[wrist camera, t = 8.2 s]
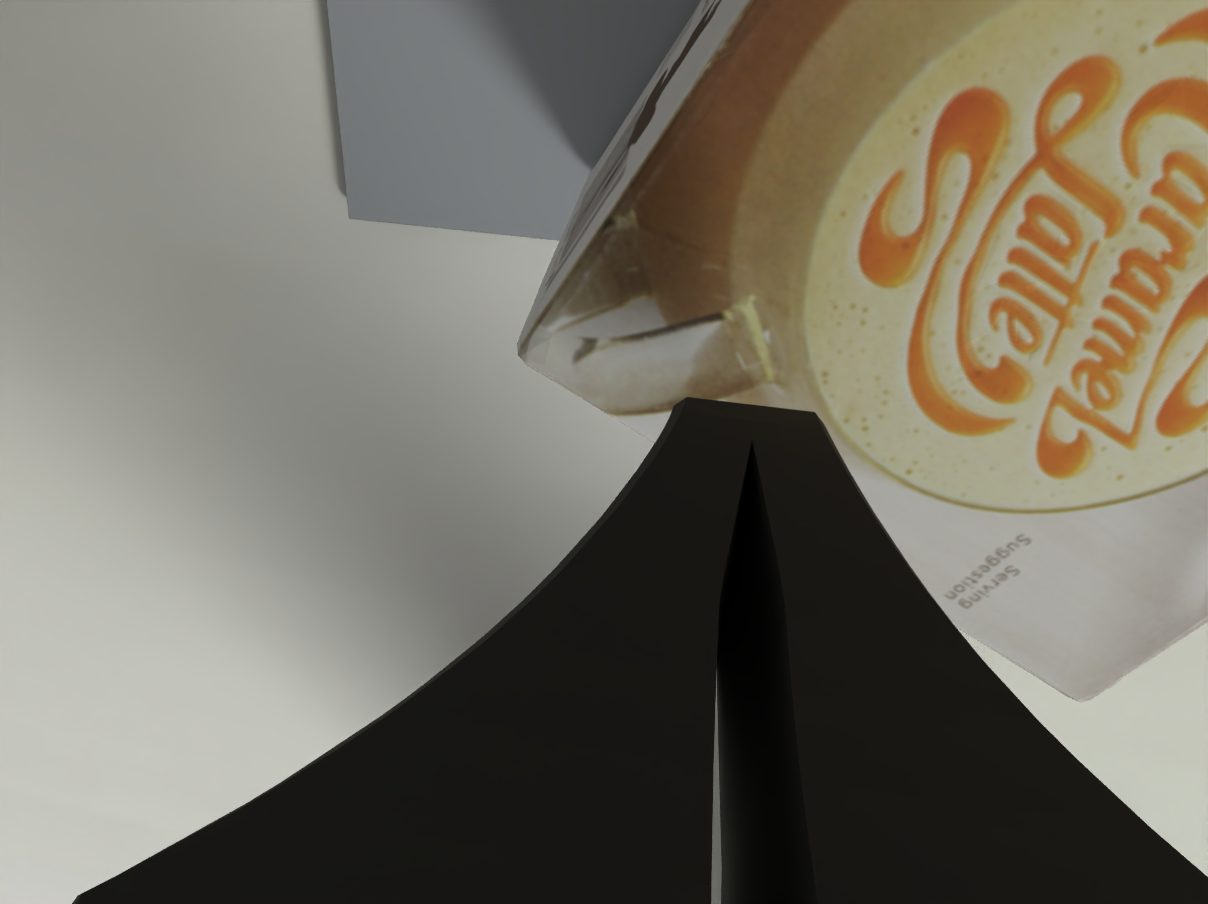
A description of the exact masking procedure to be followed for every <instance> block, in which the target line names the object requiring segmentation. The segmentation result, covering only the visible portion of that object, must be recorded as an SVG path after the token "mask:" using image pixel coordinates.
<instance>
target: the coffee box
mask: <svg viewBox="0 0 1208 904" xmlns="http://www.w3.org/2000/svg"><path fill="white" fill-rule="evenodd" d="M517 347H518V356H519V357H520V358H521V359H522V360H523V361H524V362H525V363H526V364H527V366H529V367H531V368H533V369H534V370H536V371H538V372H540V373H541V374H543V375H545V376H546V377H548V378H550V379H551V380H553V381H555V382H556V383H558V384H560V385H561V386H563V387H565V388H566V389H568V390H570V391H571V392H573V393H574V394H576V395H578V396H579V397H581V398H582V399H584V400H586V401H587V402H589V403H591V404H592V405H594V406H595V407H597V408H599V409H600V410H602V411H604V412H605V413H607V414H608V415H610V416H612V417H613V418H615V419H617V420H618V421H620V422H621V423H623V424H625V425H626V426H628V427H630V428H631V429H633V430H634V431H636V432H638V433H639V434H641V435H643V436H644V437H646V438H647V439H649V440H651V441H652V442H654V443H655V442H656V441H657V439H658V437H659V436H660V434H661V432H662V430H663V429H664V427H665V425H666V423H667V421H668V419H669V417H670V414H671V412H672V409H673V406H674V405H675V404H677V403H678V402H680V401H681V400H683V399H684V398H686V397H692V398H701V399H709V400H718V401H726V402H735V403H743V404H752V405H760V406H769V407H777V408H786V409H794V410H803V411H811V412H815V413H816V414H817V415H818V417H819V418H820V419H821V420H822V422H823V423H824V425H825V427H826V429H827V430H828V432H829V434H830V436H831V438H832V440H833V442H834V444H835V446H836V448H837V450H838V451H839V453H840V455H841V457H842V459H843V460H844V462H845V464H846V466H847V468H848V469H849V471H850V473H851V475H852V476H853V478H854V480H855V481H856V483H857V485H858V486H859V488H860V490H861V492H862V493H863V495H864V497H865V498H866V500H867V501H868V503H869V505H870V506H871V508H872V509H873V511H874V513H875V514H876V516H877V517H878V519H879V520H880V522H881V523H882V525H883V526H884V528H885V529H886V531H887V532H888V534H889V535H890V537H891V538H892V540H893V541H894V543H895V544H896V546H897V547H898V549H899V550H900V552H901V553H902V555H903V556H904V558H905V559H906V561H907V562H908V564H909V565H910V567H911V568H912V569H913V571H914V572H915V574H916V575H917V576H918V578H919V579H920V581H921V582H922V583H923V585H924V586H925V588H926V589H927V590H928V592H929V593H930V594H931V596H932V597H933V598H934V599H935V601H936V602H937V603H938V605H939V606H940V607H941V609H942V610H943V611H944V612H945V614H946V615H947V616H948V618H949V619H950V620H951V622H952V623H953V624H954V625H955V627H957V628H958V629H960V630H962V631H963V632H965V633H967V634H968V635H970V636H971V637H973V638H975V639H976V640H978V641H979V642H981V643H983V644H984V645H986V646H987V647H989V648H991V649H992V650H994V651H995V652H997V653H999V654H1000V655H1002V656H1003V657H1005V658H1007V659H1008V660H1010V661H1011V662H1013V663H1015V664H1016V665H1018V666H1019V667H1021V668H1023V669H1024V670H1026V671H1028V672H1029V673H1031V674H1033V675H1034V676H1036V677H1037V678H1039V679H1041V680H1042V681H1044V682H1045V683H1047V684H1048V685H1050V686H1052V687H1053V688H1055V689H1056V690H1058V691H1059V692H1061V693H1062V694H1064V695H1066V696H1067V697H1070V698H1072V699H1074V700H1076V701H1079V702H1084V701H1088V700H1091V699H1093V698H1094V697H1096V696H1097V695H1099V694H1100V693H1102V692H1103V691H1105V690H1106V689H1108V688H1110V687H1112V686H1113V685H1114V684H1115V683H1117V682H1118V681H1119V680H1121V679H1122V678H1123V677H1124V676H1126V675H1127V674H1129V673H1131V672H1132V671H1134V670H1135V669H1137V668H1138V667H1140V666H1141V665H1143V664H1145V663H1146V662H1148V661H1149V660H1151V659H1152V658H1154V657H1155V656H1157V655H1158V654H1160V653H1161V652H1163V651H1164V650H1166V649H1167V648H1169V647H1170V646H1172V645H1173V644H1175V643H1177V642H1178V641H1180V640H1181V639H1183V638H1184V637H1186V636H1187V635H1189V634H1190V633H1192V632H1193V631H1195V630H1196V629H1198V628H1199V627H1200V626H1202V625H1203V624H1205V623H1206V622H1208V0H701V1H700V3H699V5H698V6H697V8H696V10H695V11H694V13H693V14H692V16H691V17H690V19H689V21H688V22H687V24H686V25H685V27H684V28H683V30H682V32H681V33H680V35H679V36H678V38H677V39H676V41H675V42H674V44H673V46H672V47H671V49H670V50H669V52H668V53H667V55H666V57H665V58H664V60H663V61H662V63H661V64H660V66H659V67H658V69H657V71H656V72H655V74H654V75H653V77H652V78H651V80H650V81H649V83H648V85H647V86H646V88H645V89H644V91H643V92H642V94H641V96H640V97H639V99H638V100H637V102H636V103H635V105H634V106H633V108H632V110H631V111H630V113H629V114H628V116H627V117H626V119H625V121H624V122H623V124H622V125H621V127H620V128H619V130H618V131H617V133H616V135H615V136H614V138H613V139H612V141H611V142H610V144H609V145H608V147H607V149H606V150H605V152H604V153H603V155H602V156H601V158H600V159H599V161H598V162H597V164H596V165H595V167H594V168H593V169H592V171H591V172H590V174H589V176H588V178H587V180H586V182H585V184H584V186H583V189H582V191H581V193H580V196H579V198H578V200H577V203H576V205H575V208H574V210H573V212H572V214H571V217H570V219H569V221H568V224H567V226H566V228H565V231H564V233H563V235H562V237H561V240H560V242H559V244H558V246H557V248H556V251H555V253H554V255H553V258H552V260H551V262H550V265H549V267H548V269H547V272H546V274H545V276H544V279H543V281H542V283H541V286H540V288H539V291H538V294H537V296H536V299H535V301H534V304H533V306H532V309H531V311H530V313H529V316H528V318H527V320H526V323H525V325H524V327H523V330H522V332H521V335H520V338H519V340H518V343H517Z"/></svg>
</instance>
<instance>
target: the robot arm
mask: <svg viewBox="0 0 1208 904" xmlns="http://www.w3.org/2000/svg"><path fill="white" fill-rule="evenodd" d="M716 670H717V705H718V744H719V781H720V819H721V856H722V886H721V904H1208V877H1207V876H1206V875H1205V874H1204V873H1202V872H1201V871H1200V870H1199V869H1198V868H1197V867H1195V866H1194V865H1193V864H1192V863H1191V862H1190V861H1188V860H1187V859H1186V858H1185V857H1184V856H1183V855H1181V854H1180V853H1179V852H1178V851H1177V850H1176V849H1175V848H1173V847H1172V846H1171V845H1170V844H1169V843H1168V842H1166V841H1165V840H1164V839H1163V838H1162V837H1161V836H1159V835H1158V834H1157V833H1156V832H1155V831H1154V830H1153V829H1152V828H1150V827H1149V826H1148V825H1147V824H1146V823H1145V822H1144V821H1143V820H1142V819H1141V818H1140V817H1138V816H1137V815H1136V814H1135V813H1134V812H1133V811H1132V810H1131V809H1130V808H1129V807H1128V806H1127V805H1126V804H1124V803H1123V802H1122V801H1121V800H1120V799H1119V798H1118V797H1117V796H1116V795H1115V794H1114V793H1113V792H1112V791H1111V790H1109V789H1108V788H1107V787H1106V786H1105V785H1104V784H1103V783H1102V782H1101V781H1100V780H1099V779H1098V778H1097V777H1095V776H1094V775H1093V774H1092V773H1091V772H1090V771H1089V770H1088V769H1087V768H1086V767H1085V766H1084V765H1083V764H1082V763H1080V762H1079V761H1078V760H1077V759H1076V758H1075V757H1074V756H1073V755H1072V754H1071V753H1070V752H1069V751H1068V750H1067V749H1066V748H1065V747H1064V746H1063V745H1062V744H1061V743H1060V742H1059V741H1058V740H1057V739H1056V738H1055V737H1054V736H1053V735H1052V734H1051V733H1050V732H1049V731H1048V730H1047V729H1046V728H1045V727H1044V726H1043V725H1042V724H1041V723H1040V722H1039V721H1038V720H1037V719H1036V718H1035V717H1034V715H1033V714H1032V713H1031V712H1030V711H1029V710H1028V709H1027V708H1026V707H1025V706H1024V705H1023V704H1022V702H1021V701H1020V700H1019V699H1018V698H1017V697H1016V696H1015V695H1014V694H1013V693H1012V692H1011V690H1010V689H1009V688H1008V687H1007V686H1006V685H1005V684H1004V683H1003V682H1002V681H1001V680H1000V678H999V677H998V676H997V675H996V674H995V673H994V672H993V671H992V670H991V669H990V668H989V667H988V665H987V664H986V663H985V662H984V661H983V660H982V659H981V657H980V656H979V655H978V654H977V653H976V651H975V650H974V649H973V648H972V647H971V645H970V644H969V643H968V642H967V640H966V639H965V638H964V637H963V636H962V634H961V633H960V632H959V631H958V629H957V628H956V627H955V625H954V624H953V623H952V622H951V620H950V619H949V618H948V616H947V615H946V614H945V612H944V611H943V610H942V609H941V607H940V606H939V605H938V603H937V602H936V601H935V599H934V598H933V597H932V596H931V594H930V593H929V592H928V590H927V589H926V588H925V586H924V585H923V583H922V582H921V581H920V579H919V578H918V576H917V575H916V574H915V572H914V571H913V569H912V568H911V567H910V565H909V564H908V562H907V561H906V559H905V558H904V556H903V555H902V553H901V552H900V550H899V549H898V547H897V546H896V544H895V543H894V541H893V540H892V538H891V537H890V535H889V534H888V532H887V531H886V529H885V528H884V526H883V525H882V523H881V522H880V520H879V519H878V517H877V516H876V514H875V513H874V511H873V509H872V508H871V506H870V505H869V503H868V501H867V500H866V498H865V497H864V495H863V493H862V492H861V490H860V488H859V486H858V485H857V483H856V481H855V480H854V478H853V476H852V475H851V473H850V471H849V469H848V468H847V466H846V464H845V462H844V460H843V459H842V457H841V455H840V453H839V451H838V450H837V448H836V446H835V444H834V442H833V440H832V438H831V436H830V434H829V432H828V430H827V429H826V427H825V425H824V423H823V422H822V420H821V419H820V418H819V417H818V415H817V414H816V413H815V412H811V411H803V410H794V409H786V408H777V407H769V406H760V405H752V404H743V403H735V402H726V401H718V400H709V399H701V398H692V397H686V398H684V399H683V400H681V401H680V402H678V403H677V404H675V405H674V406H673V409H672V412H671V414H670V417H669V419H668V421H667V423H666V425H665V427H664V429H663V430H662V432H661V434H660V436H659V437H658V439H657V441H656V442H655V444H654V445H653V447H652V449H651V450H650V452H649V453H648V455H647V456H646V458H645V459H644V461H643V462H642V464H641V465H640V467H639V468H638V469H637V471H636V472H635V473H634V475H633V476H632V477H631V479H630V480H629V481H628V483H627V484H626V485H625V487H624V488H623V489H622V491H621V492H620V493H619V495H618V496H617V497H616V498H615V500H614V501H613V502H612V504H611V505H610V506H609V508H608V509H607V510H606V511H605V513H604V514H603V515H602V516H601V518H600V519H599V520H598V521H597V522H596V523H595V525H594V526H593V527H592V528H591V529H590V530H589V531H588V532H587V533H586V535H585V536H584V537H583V538H582V539H581V540H580V541H579V542H578V543H577V545H576V546H575V547H574V548H573V549H572V550H571V551H570V552H569V554H568V555H567V556H566V557H565V558H564V559H563V560H562V561H561V562H560V564H559V565H558V566H557V567H556V568H555V569H554V570H553V571H552V572H551V573H550V574H549V575H548V576H547V577H546V578H545V579H544V580H543V581H542V582H541V583H540V584H539V585H538V586H537V587H536V588H535V589H534V590H533V591H532V592H531V593H530V594H529V595H528V596H527V597H526V598H525V599H524V600H523V601H522V602H521V603H520V604H519V605H518V606H516V607H515V608H514V609H513V610H512V611H511V612H510V613H509V614H508V615H507V616H505V617H504V618H503V619H502V620H501V621H500V622H499V623H498V624H497V625H495V626H494V627H493V628H492V629H491V630H490V631H489V632H488V633H487V634H485V635H484V636H483V637H482V638H481V639H480V640H478V641H477V642H476V643H475V644H474V645H472V646H471V647H470V648H469V649H467V650H466V651H465V652H464V653H462V654H461V655H460V656H459V657H457V658H456V659H455V660H454V661H452V662H451V663H450V664H449V665H448V666H446V667H445V668H444V669H443V670H441V671H440V672H439V673H438V674H436V675H435V676H434V677H433V678H431V679H430V680H429V681H428V682H426V683H425V684H424V685H423V686H421V687H420V688H419V689H417V690H416V691H415V692H413V693H412V694H411V695H409V696H408V697H407V698H405V699H404V700H403V701H401V702H400V703H399V704H397V705H396V706H394V707H393V708H392V709H390V710H389V711H387V712H386V713H385V714H383V715H382V716H380V717H379V718H377V719H376V720H374V721H373V722H371V723H370V724H368V725H367V726H365V727H364V728H362V729H361V730H359V731H358V732H356V733H355V734H353V735H352V736H350V737H349V738H347V739H346V740H344V741H343V742H341V743H340V744H338V745H337V746H335V747H334V748H332V749H331V750H329V751H328V752H326V753H325V754H323V755H322V756H320V757H319V758H317V759H316V760H314V761H313V762H311V763H310V764H308V765H307V766H305V767H303V768H302V769H300V770H299V771H297V772H296V773H294V774H293V775H291V776H290V777H288V778H287V779H285V780H284V781H282V782H281V783H279V784H278V785H276V786H274V787H273V788H271V789H269V790H268V791H266V792H264V793H263V794H261V795H259V796H258V797H256V798H254V799H253V800H251V801H250V802H248V803H246V804H244V805H243V806H241V807H239V808H237V809H236V810H234V811H232V812H230V813H228V814H227V815H225V816H223V817H221V818H219V819H218V820H216V821H214V822H212V823H210V824H209V825H207V826H205V827H203V828H201V829H200V830H198V831H196V832H194V833H192V834H191V835H189V836H187V837H185V838H184V839H182V840H180V841H178V842H176V843H175V844H173V845H171V846H169V847H167V848H166V849H164V850H162V851H160V852H158V853H157V854H155V855H153V856H151V857H149V858H148V859H146V860H144V861H142V862H140V863H139V864H137V865H135V866H133V867H131V868H130V869H128V870H126V871H124V872H123V873H121V874H119V875H117V876H115V877H113V878H111V879H109V880H107V881H105V882H103V883H102V884H100V885H98V886H96V887H94V888H92V889H90V890H88V891H86V892H84V893H82V894H80V895H78V896H77V898H76V899H75V900H74V902H73V903H72V904H711V871H712V813H713V762H714V730H715V698H716Z"/></svg>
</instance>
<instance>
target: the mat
mask: <svg viewBox="0 0 1208 904" xmlns="http://www.w3.org/2000/svg"><path fill="white" fill-rule="evenodd" d="M700 1H701V0H327V9H328V19H329V28H330V38H331V48H332V57H333V67H334V77H335V87H336V96H337V106H338V116H339V125H340V135H341V145H342V154H343V164H344V174H345V184H346V193H347V203H348V213H349V219H358V220H368V221H377V222H387V223H396V224H406V225H415V226H425V227H434V228H444V229H454V230H463V231H473V232H482V233H492V234H501V235H511V236H520V237H530V238H540V239H549V240H559V241H560V240H561V237H562V235H563V233H564V231H565V228H566V226H567V224H568V221H569V219H570V217H571V214H572V212H573V210H574V208H575V205H576V203H577V200H578V198H579V196H580V193H581V191H582V189H583V186H584V184H585V182H586V180H587V178H588V176H589V174H590V172H591V171H592V169H593V168H594V167H595V165H596V164H597V162H598V161H599V159H600V158H601V156H602V155H603V153H604V152H605V150H606V149H607V147H608V145H609V144H610V142H611V141H612V139H613V138H614V136H615V135H616V133H617V131H618V130H619V128H620V127H621V125H622V124H623V122H624V121H625V119H626V117H627V116H628V114H629V113H630V111H631V110H632V108H633V106H634V105H635V103H636V102H637V100H638V99H639V97H640V96H641V94H642V92H643V91H644V89H645V88H646V86H647V85H648V83H649V81H650V80H651V78H652V77H653V75H654V74H655V72H656V71H657V69H658V67H659V66H660V64H661V63H662V61H663V60H664V58H665V57H666V55H667V53H668V52H669V50H670V49H671V47H672V46H673V44H674V42H675V41H676V39H677V38H678V36H679V35H680V33H681V32H682V30H683V28H684V27H685V25H686V24H687V22H688V21H689V19H690V17H691V16H692V14H693V13H694V11H695V10H696V8H697V6H698V5H699V3H700Z"/></svg>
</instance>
